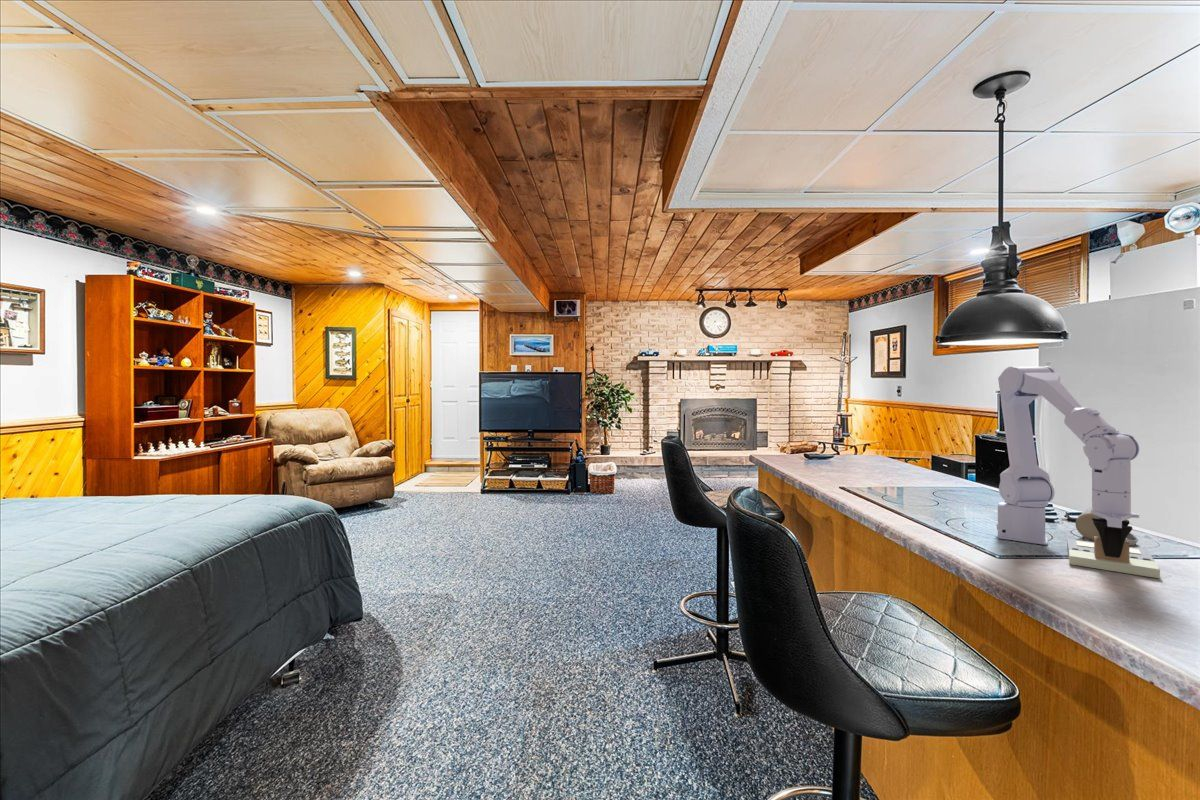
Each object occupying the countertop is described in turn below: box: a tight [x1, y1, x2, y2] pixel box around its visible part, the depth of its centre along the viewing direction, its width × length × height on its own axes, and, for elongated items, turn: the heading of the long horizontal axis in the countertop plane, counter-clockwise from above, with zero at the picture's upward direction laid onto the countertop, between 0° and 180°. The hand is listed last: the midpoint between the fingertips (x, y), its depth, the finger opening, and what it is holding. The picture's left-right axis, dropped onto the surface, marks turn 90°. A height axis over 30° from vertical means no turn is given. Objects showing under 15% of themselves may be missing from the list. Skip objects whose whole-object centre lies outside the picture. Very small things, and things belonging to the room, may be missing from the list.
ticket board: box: [1066, 538, 1156, 562], centre depth 110 cm, size 13×10×2 cm
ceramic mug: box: [1075, 507, 1139, 547], centre depth 123 cm, size 11×8×8 cm
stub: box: [1068, 536, 1161, 579], centre depth 104 cm, size 13×6×6 cm, turn 48°
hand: (1111, 554), depth 104 cm, fingers closed on stub, 3 cm apart
